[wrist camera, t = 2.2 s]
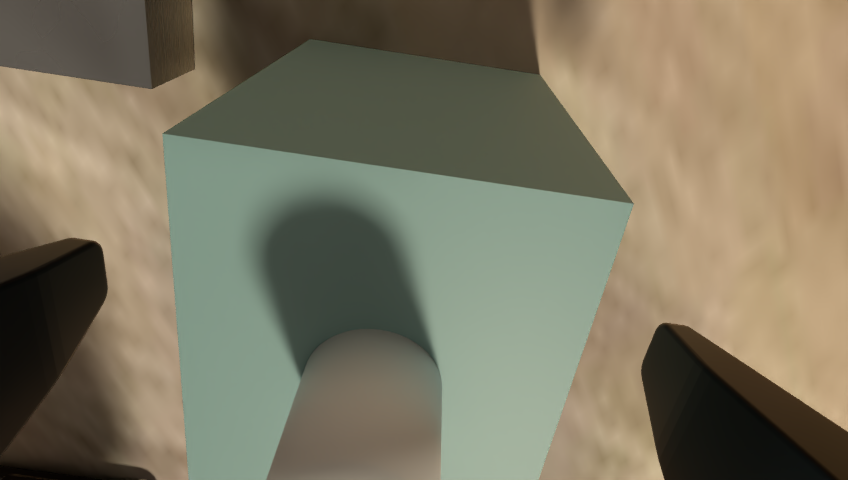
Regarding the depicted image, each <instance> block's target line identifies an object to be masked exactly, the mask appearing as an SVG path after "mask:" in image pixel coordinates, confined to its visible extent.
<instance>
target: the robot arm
mask: <svg viewBox="0 0 848 480" xmlns="http://www.w3.org/2000/svg"><path fill="white" fill-rule="evenodd" d="M107 290H108V285H107V277H106V270H105V263H104V255H103V250H102V247H101V245H100V244H98V243H97V242H96V241H91V240H84V239H77V238H68V239H64V240H60V241H57V242H53V243H49V244H45V245H42V246H38V247H34V248H30V249H27V250H23V251H19V252H16V253H12V254H8V255H4V256H1V257H0V457H1V456H2V454H3V453H4V452H5V450H6V449H7V448H8V446H9V445H10V444H11V442H12V441H13V440H14V438H15V437H16V436H17V434H18V433H19V432H20V430H21V429H22V428H23V426H24V425H25V424H26V422H27V421H28V419H29V418H30V417H31V415H32V414H33V413H34V411H35V410H36V409H37V407H38V406H39V405H40V403H41V402H42V401H43V399H44V398H45V397H46V395H47V394H48V393H49V391H50V390H51V388H52V387H53V386H54V384H55V383H56V381H57V380H58V379H59V377H60V375H61V374H62V372H63V371H64V369H65V368H66V366H67V364H68V363H69V361H70V359H71V357H72V356H73V354H74V352H75V351H76V349H77V347H78V346H79V344H80V342H81V340H82V339H83V337H84V335H85V334H86V332H87V330H88V329H89V327H90V325H91V323H92V322H93V320H94V318H95V317H96V315H97V313H98V311H99V310H100V308H101V306H102V305H103V303H104V301H105V298H106V296H107ZM641 375H642V381H643V386H644V391H645V396H646V401H647V406H648V411H649V416H650V421H651V426H652V431H653V436H654V441H655V446H656V450H657V455H658V459H659V463H660V466H661V469H662V473H663V476H664V479H665V480H848V432H847V431H846V430H844V429H843V428H841V427H840V426H838V425H837V424H835V423H834V422H832V421H831V420H829V419H827V418H826V417H824V416H823V415H821V414H820V413H818V412H817V411H815V410H814V409H812V408H811V407H809V406H808V405H806V404H805V403H803V402H802V401H800V400H799V399H797V398H796V397H794V396H793V395H791V394H790V393H788V392H787V391H785V390H784V389H782V388H781V387H779V386H778V385H776V384H775V383H773V382H772V381H770V380H769V379H767V378H765V377H764V376H762V375H761V374H759V373H758V372H756V371H755V370H753V369H752V368H750V367H749V366H747V365H746V364H744V363H743V362H741V361H740V360H738V359H737V358H735V357H734V356H732V355H731V354H729V353H728V352H726V351H725V350H723V349H722V348H720V347H719V346H717V345H716V344H714V343H713V342H711V341H710V340H708V339H707V338H705V337H703V336H702V335H700V334H699V333H697V332H696V331H694V330H693V329H691V328H690V327H688V326H685V325H678V324H671V323H663V324H661V325H659V326H658V327H657V329H656V331H655V333H654V336H653V338H652V341H651V343H650V345H649V348H648V350H647V353H646V355H645V357H644V360H643V363H642V369H641ZM0 480H100V479H92V478H85V477H77V476H70V475H62V474H54V473H47V472H39V471H31V470H24V469H16V468H9V467H1V466H0Z"/></svg>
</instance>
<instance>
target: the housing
mask: <svg viewBox="0 0 848 480" xmlns="http://www.w3.org/2000/svg"><path fill="white" fill-rule="evenodd" d="M163 147H164V160H165V173H166V186H167V199H168V213H169V226H170V239H171V252H172V265H173V278H174V292H175V305H176V318H177V331H178V344H179V357H180V371H181V384H182V397H183V410H184V423H185V436H186V450H187V463H188V476H189V480H539V477H540V474H541V471H542V468H543V465H544V462H545V459H546V456H547V454H548V451H549V448H550V445H551V442H552V439H553V436H554V433H555V430H556V427H557V425H558V422H559V419H560V416H561V413H562V410H563V407H564V404H565V401H566V399H567V396H568V393H569V390H570V387H571V384H572V381H573V378H574V375H575V372H576V370H577V367H578V364H579V361H580V358H581V355H582V352H583V349H584V346H585V344H586V341H587V338H588V335H589V332H590V329H591V326H592V323H593V320H594V317H595V315H596V312H597V309H598V306H599V303H600V300H601V297H602V294H603V291H604V289H605V286H606V283H607V280H608V277H609V274H610V271H611V268H612V265H613V262H614V260H615V257H616V254H617V251H618V248H619V245H620V242H621V239H622V236H623V234H624V231H625V228H626V225H627V222H628V219H629V216H630V213H631V210H632V207H633V205H634V203H633V202H632V201H631V199H630V198H629V197H628V195H627V194H626V192H625V191H624V190H623V188H622V187H621V186H620V184H619V183H618V181H617V180H616V179H615V177H614V176H613V175H612V173H611V172H610V170H609V169H608V168H607V166H606V165H605V164H604V162H603V161H602V159H601V158H600V157H599V155H598V154H597V153H596V151H595V150H594V148H593V147H592V146H591V144H590V143H589V142H588V140H587V139H586V137H585V136H584V135H583V133H582V132H581V131H580V129H579V128H578V126H577V125H576V124H575V122H574V121H573V120H572V118H571V117H570V115H569V114H568V113H567V111H566V110H565V109H564V107H563V106H562V104H561V103H560V102H559V100H558V99H557V98H556V96H555V95H554V93H553V92H552V91H551V89H550V88H549V86H548V85H547V84H546V82H545V81H544V80H543V78H542V77H541V75H539V74H532V73H526V72H519V71H513V70H506V69H500V68H494V67H487V66H481V65H474V64H468V63H461V62H455V61H448V60H442V59H436V58H429V57H423V56H416V55H410V54H403V53H397V52H390V51H384V50H378V49H371V48H365V47H358V46H352V45H345V44H339V43H333V42H326V41H320V40H313V39H310V40H308V41H306V42H305V43H303V44H302V45H300V46H299V47H297V48H296V49H294V50H292V51H291V52H289V53H288V54H286V55H285V56H283V57H281V58H280V59H278V60H277V61H275V62H274V63H272V64H271V65H269V66H267V67H266V68H264V69H263V70H261V71H260V72H258V73H256V74H255V75H253V76H252V77H250V78H249V79H247V80H246V81H244V82H242V83H241V84H239V85H238V86H236V87H235V88H233V89H231V90H230V91H228V92H227V93H225V94H224V95H222V96H221V97H219V98H217V99H216V100H214V101H213V102H211V103H210V104H208V105H206V106H205V107H203V108H202V109H200V110H199V111H197V112H196V113H194V114H192V115H191V116H189V117H188V118H186V119H185V120H183V121H181V122H180V123H178V124H177V125H175V126H174V127H172V128H171V129H169V130H167V131H166V132H164V133H163Z"/></svg>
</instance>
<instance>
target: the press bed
mask: <svg viewBox="0 0 848 480" xmlns="http://www.w3.org/2000/svg"><path fill="white" fill-rule="evenodd" d="M0 66H3V67H10V68H17V69H23V70H30V71H36V72H43V73H50V74H56V75H63V76H69V77H76V78H82V79H89V80H96V81H102V82H109V83H115V84H122V85H129V86H135V87H142V88H148V89H153V88H155V87H157V86H159V85H162V84H164V83H166V82H168V81H170V80H172V79H174V78H177V77H179V76H181V75H183V74H185V73H187V72H189V71H192V70H194V69H195V64H194V43H193V21H192V0H0Z"/></svg>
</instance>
